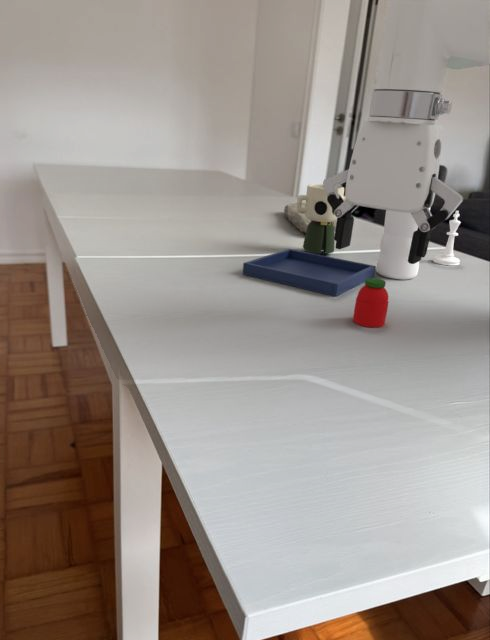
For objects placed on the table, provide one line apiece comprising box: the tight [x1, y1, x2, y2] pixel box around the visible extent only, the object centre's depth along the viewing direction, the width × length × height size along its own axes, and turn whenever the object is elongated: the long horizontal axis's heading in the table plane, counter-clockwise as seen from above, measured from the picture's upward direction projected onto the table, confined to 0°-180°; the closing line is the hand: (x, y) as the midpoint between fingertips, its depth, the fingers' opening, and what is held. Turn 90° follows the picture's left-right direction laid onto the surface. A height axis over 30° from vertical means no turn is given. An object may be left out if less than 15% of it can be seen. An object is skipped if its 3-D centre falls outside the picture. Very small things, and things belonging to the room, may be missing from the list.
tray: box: [242, 248, 377, 297], centre depth 94 cm, size 17×15×2 cm
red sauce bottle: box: [352, 277, 389, 328], centre depth 73 cm, size 4×4×6 cm
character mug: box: [296, 183, 346, 254], centre depth 109 cm, size 11×7×13 cm, turn 99°
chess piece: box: [432, 210, 462, 267], centre depth 106 cm, size 5×5×10 cm
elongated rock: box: [283, 202, 337, 234], centre depth 139 cm, size 35×5×10 cm
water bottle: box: [375, 206, 432, 281], centre depth 93 cm, size 7×7×25 cm
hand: (377, 254), depth 71 cm, fingers open, 9 cm apart
